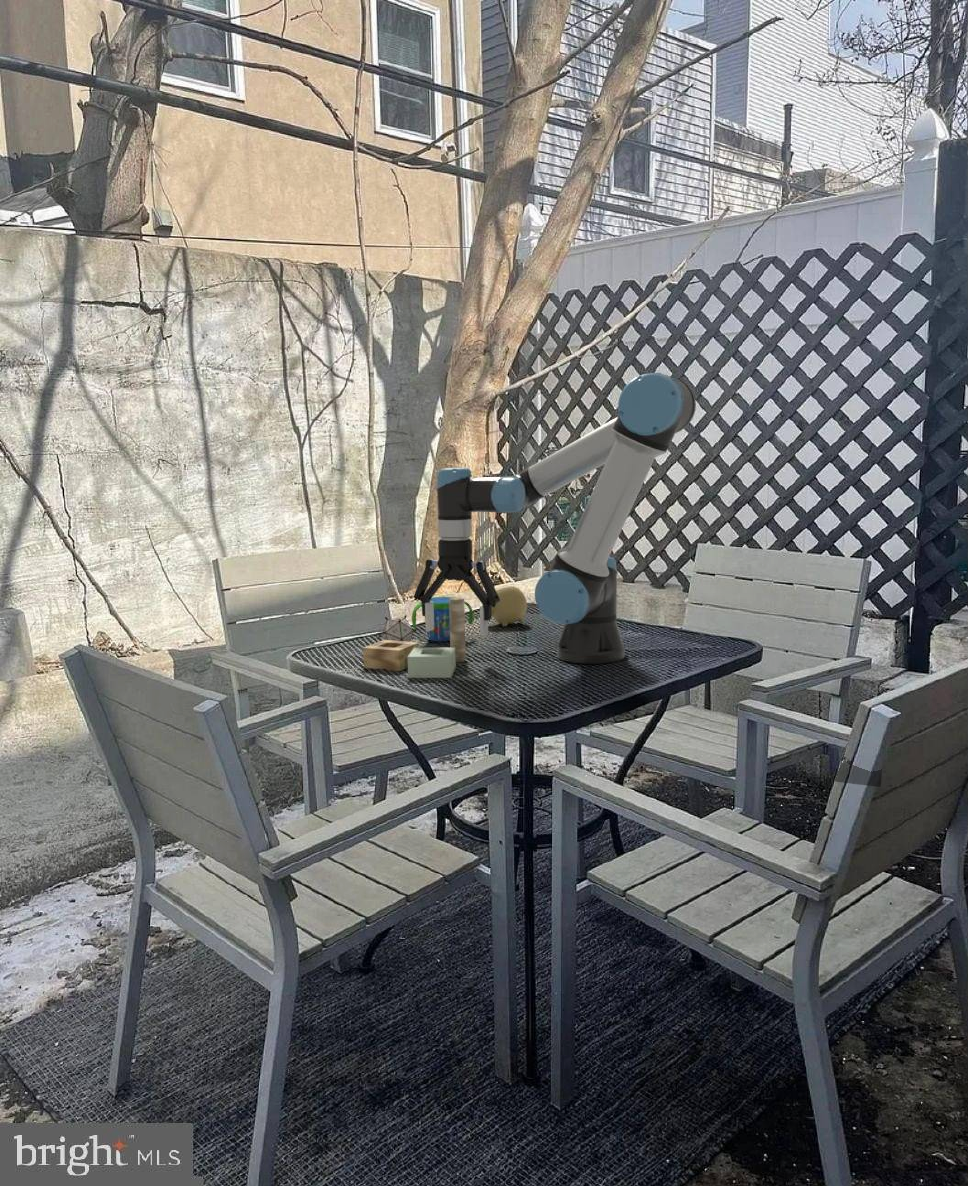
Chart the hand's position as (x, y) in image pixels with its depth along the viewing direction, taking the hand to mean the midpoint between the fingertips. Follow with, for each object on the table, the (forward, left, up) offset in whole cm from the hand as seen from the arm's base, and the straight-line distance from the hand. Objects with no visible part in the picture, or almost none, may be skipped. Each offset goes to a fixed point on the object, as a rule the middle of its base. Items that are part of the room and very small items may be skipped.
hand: (456, 632), depth 208 cm
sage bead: (0, +13, -6) cm, 14 cm away
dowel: (0, 0, -6) cm, 6 cm away
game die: (+19, -6, -7) cm, 21 cm away
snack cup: (+14, -20, -7) cm, 25 cm away
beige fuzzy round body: (+7, -43, -7) cm, 44 cm away
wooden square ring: (+12, +9, -6) cm, 16 cm away
